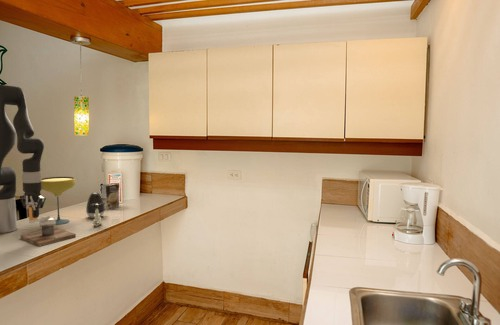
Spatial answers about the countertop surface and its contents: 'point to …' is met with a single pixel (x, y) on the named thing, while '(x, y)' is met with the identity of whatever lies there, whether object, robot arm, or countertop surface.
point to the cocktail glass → (58, 190)
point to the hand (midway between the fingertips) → (33, 216)
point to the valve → (97, 215)
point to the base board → (47, 236)
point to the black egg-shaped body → (92, 199)
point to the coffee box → (110, 196)
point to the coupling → (41, 219)
